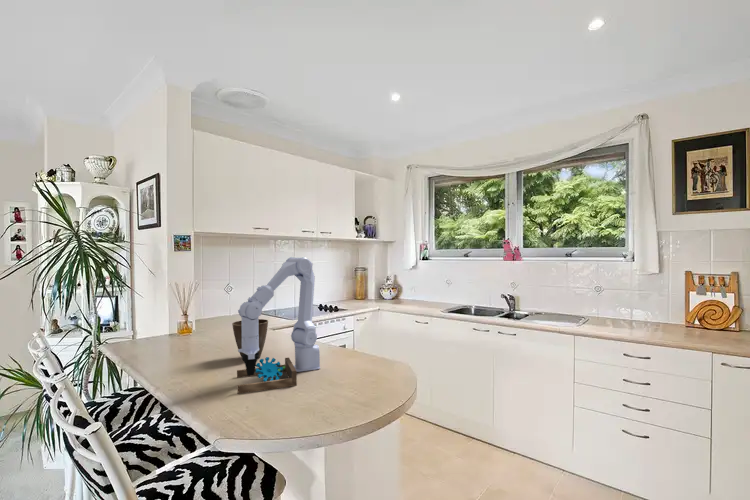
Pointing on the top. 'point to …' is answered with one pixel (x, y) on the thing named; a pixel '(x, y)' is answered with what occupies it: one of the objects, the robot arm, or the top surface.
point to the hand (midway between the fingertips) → (250, 374)
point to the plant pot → (262, 334)
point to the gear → (269, 369)
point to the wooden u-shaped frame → (268, 385)
